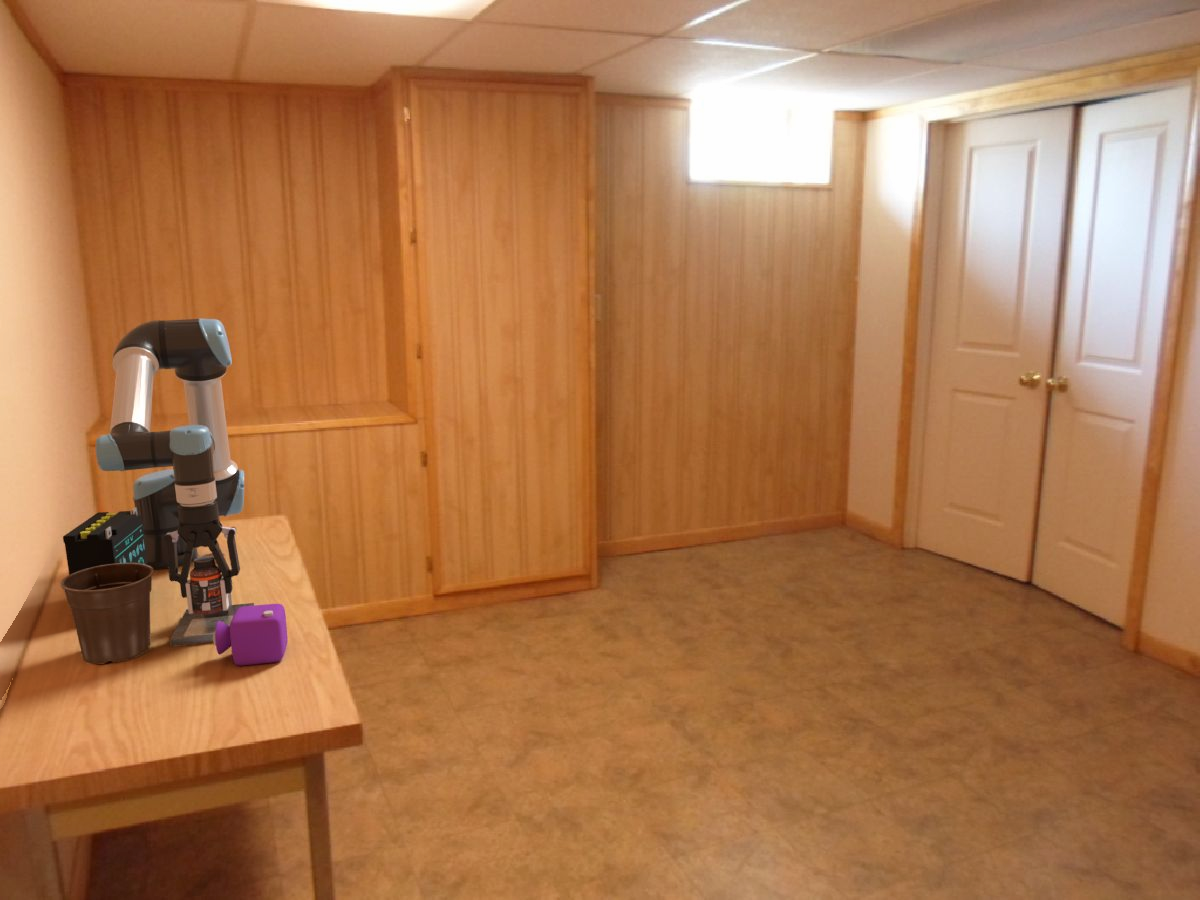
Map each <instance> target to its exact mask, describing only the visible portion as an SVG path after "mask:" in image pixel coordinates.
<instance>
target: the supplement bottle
mask: <svg viewBox="0 0 1200 900" xmlns="http://www.w3.org/2000/svg"><path fill="white" fill-rule="evenodd" d="M202 556H203V557H201V556H198V557H197V558H196V559H194V560H193V569H191V570H190V571H189V577H190V581H191V591H192V599H193V608H194V612H195V613H197V614H201V615H209V614H214V613H217V612H219V611H221V610H222V609H223V604H222V595H221V586H220V580H221V578H222V577H221V574H222V573H221V571H220V569H219V567H218V566H216V565H215V559H214V557H212V556H204V555H202Z"/></svg>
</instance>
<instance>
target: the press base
mask: <svg viewBox="0 0 1200 900" xmlns="http://www.w3.org/2000/svg"><path fill="white" fill-rule="evenodd" d="M221 577H223V576H222V573H221ZM228 600H229V607H228V609H227V610H224V611H223V609H222V610H221V611H219V612H217V613H214V614H209V615H201V614H197V613H195V612H193V614H189V610H188V608H186V609H185V611H184V613H183V614H182V617H181V618H180V621H179V622H178V624H177V626H176V628H175V630H173V631H174V632H173V634H172V635H171V637H170V638H169V643H170V644H169V645H170V647H179V646H180V647H181V646H188V645H189V646H190V645H199V644H209V643H214V642H213V634H214V632H215V630H216V625H217V622H218V621H221V622H223V623H225V624H226V625H228V626H230V623H231V620H232V618H233V616H234V614H235V612H236V610H237V609H238V608H240V607H244V606H254V605H255V603H254V602H249V603H239V604H233V601H232V600H233V599H232V592H231V593H229V594H228Z"/></svg>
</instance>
